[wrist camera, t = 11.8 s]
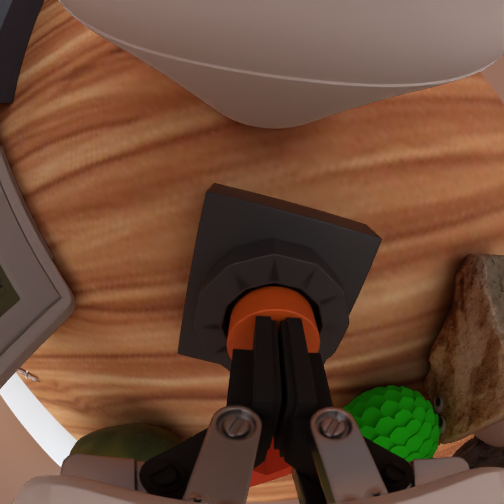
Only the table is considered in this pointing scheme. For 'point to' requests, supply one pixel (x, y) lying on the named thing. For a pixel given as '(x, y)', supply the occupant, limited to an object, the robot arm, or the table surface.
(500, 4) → the pill bottle
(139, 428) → the fruit
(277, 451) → the bracket
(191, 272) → the button box
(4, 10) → the panel
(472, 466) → the terrain model
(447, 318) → the decorative rock
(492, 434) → the egg
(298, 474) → the robot arm
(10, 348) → the digital clock
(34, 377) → the missile
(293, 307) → the button
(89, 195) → the table surface
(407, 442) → the ornament
